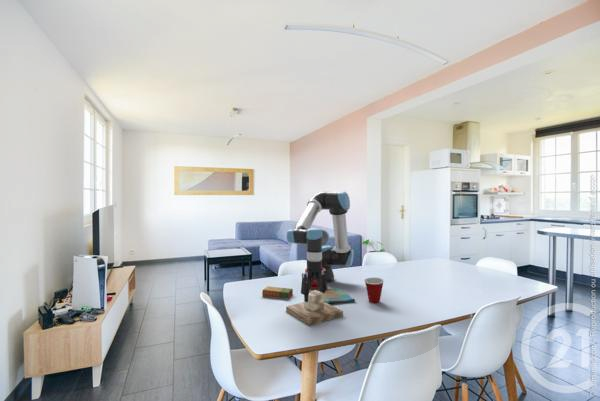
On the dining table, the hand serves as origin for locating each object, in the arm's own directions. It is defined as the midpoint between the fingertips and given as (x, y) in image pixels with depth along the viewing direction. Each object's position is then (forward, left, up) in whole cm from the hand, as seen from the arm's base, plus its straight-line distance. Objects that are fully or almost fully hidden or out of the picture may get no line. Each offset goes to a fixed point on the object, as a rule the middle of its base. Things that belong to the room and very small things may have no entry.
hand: (314, 306), depth 144 cm
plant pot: (-26, -34, -4) cm, 43 cm away
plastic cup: (-38, +4, -4) cm, 38 cm away
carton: (+2, -33, -4) cm, 33 cm away
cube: (0, 0, 0) cm, 0 cm away
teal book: (-24, -14, -4) cm, 28 cm away
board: (0, 0, -3) cm, 3 cm away
